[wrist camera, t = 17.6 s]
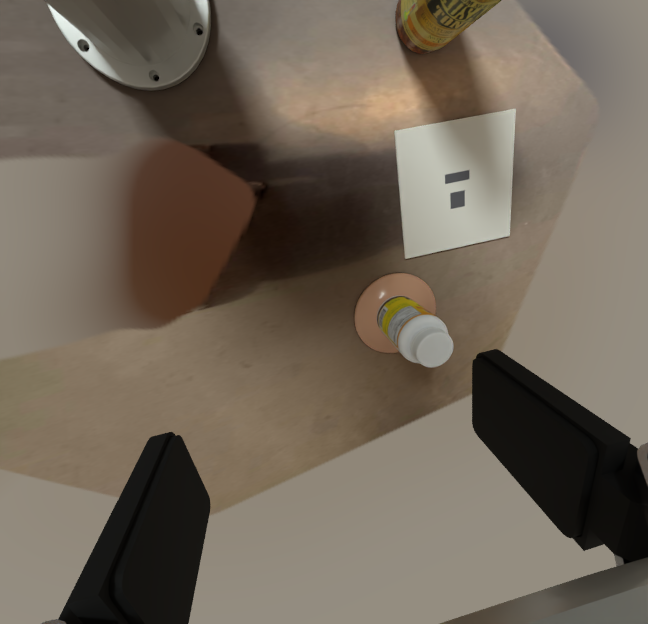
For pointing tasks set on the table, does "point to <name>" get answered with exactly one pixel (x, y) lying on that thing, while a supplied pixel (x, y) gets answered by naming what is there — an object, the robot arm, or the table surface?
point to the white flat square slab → (455, 182)
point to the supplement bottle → (415, 331)
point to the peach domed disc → (381, 292)
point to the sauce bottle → (436, 21)
